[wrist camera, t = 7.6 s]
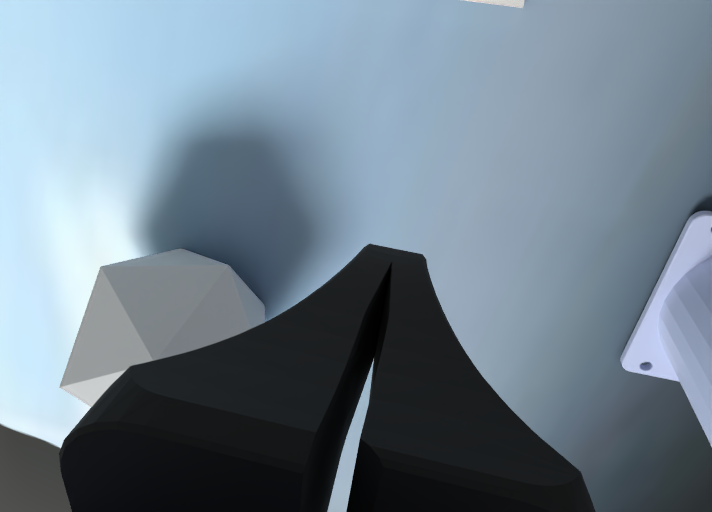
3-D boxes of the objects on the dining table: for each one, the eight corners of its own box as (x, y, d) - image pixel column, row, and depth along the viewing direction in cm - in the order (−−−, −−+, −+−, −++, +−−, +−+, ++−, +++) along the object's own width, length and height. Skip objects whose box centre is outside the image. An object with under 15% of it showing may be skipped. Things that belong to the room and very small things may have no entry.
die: (114, 284, 29) (90, 470, 24) (62, 199, 21) (15, 448, 17) (263, 281, 30) (266, 456, 26) (265, 202, 23) (269, 430, 18)
